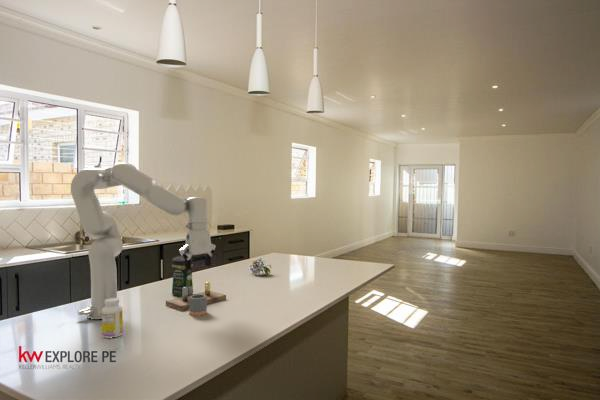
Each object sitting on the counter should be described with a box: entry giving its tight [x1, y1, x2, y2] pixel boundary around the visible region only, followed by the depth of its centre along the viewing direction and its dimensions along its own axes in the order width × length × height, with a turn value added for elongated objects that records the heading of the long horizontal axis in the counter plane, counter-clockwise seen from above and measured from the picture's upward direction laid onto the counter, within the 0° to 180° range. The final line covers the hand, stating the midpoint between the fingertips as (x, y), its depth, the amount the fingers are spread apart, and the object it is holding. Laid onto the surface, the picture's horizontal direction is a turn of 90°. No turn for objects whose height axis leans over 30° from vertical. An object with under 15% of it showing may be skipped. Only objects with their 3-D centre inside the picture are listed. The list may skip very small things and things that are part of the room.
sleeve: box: [188, 293, 208, 317], centre depth 170 cm, size 7×7×7 cm
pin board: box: [165, 290, 227, 312], centre depth 186 cm, size 24×12×2 cm, turn 139°
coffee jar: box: [171, 255, 194, 297], centre depth 199 cm, size 10×8×19 cm
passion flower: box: [247, 257, 273, 277], centre depth 244 cm, size 11×11×12 cm
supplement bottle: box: [101, 297, 124, 339], centre depth 144 cm, size 7×7×13 cm
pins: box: [181, 281, 211, 301], centre depth 186 cm, size 14×2×6 cm, turn 139°
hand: (198, 267), depth 171 cm, fingers open, 9 cm apart
